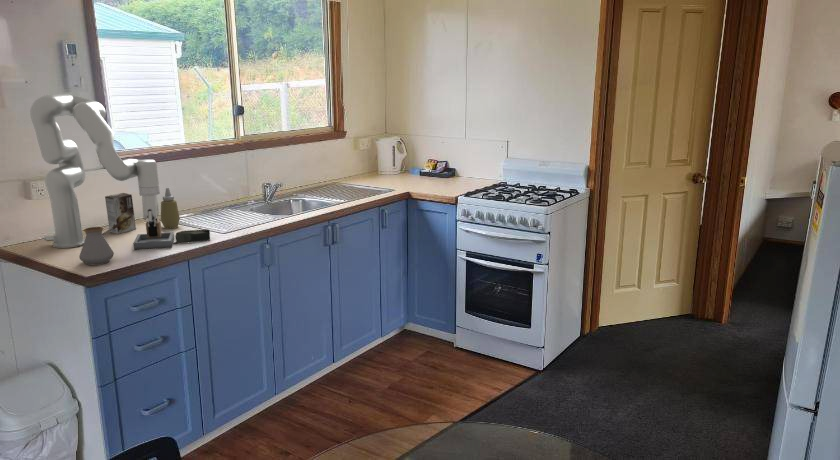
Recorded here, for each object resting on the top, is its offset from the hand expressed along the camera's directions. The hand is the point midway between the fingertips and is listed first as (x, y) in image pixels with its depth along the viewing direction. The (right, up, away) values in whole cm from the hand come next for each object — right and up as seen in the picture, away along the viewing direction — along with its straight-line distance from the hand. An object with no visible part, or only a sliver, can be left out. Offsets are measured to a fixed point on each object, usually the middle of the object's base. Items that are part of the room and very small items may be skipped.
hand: (154, 233), depth 253 cm
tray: (0, -4, +1) cm, 5 cm away
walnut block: (0, -1, 0) cm, 1 cm away
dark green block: (+13, -4, +6) cm, 15 cm away
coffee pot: (-9, -10, -18) cm, 22 cm away
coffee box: (-23, +1, +22) cm, 32 cm away
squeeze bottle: (-4, +3, +28) cm, 29 cm away
